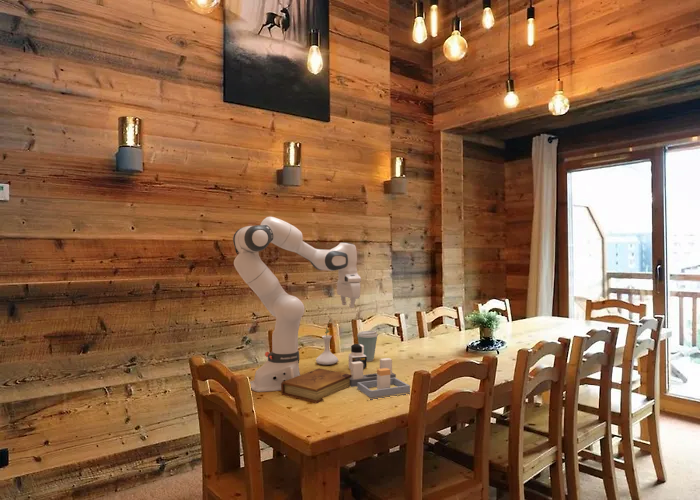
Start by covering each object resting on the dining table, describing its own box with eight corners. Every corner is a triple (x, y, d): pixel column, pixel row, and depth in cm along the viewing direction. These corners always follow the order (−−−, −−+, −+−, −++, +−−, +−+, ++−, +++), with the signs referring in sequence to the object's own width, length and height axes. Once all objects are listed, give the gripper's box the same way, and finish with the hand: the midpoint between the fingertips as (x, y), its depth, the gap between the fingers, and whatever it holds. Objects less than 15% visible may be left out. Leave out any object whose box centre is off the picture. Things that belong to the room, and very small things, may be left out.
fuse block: (351, 389, 203) (351, 381, 203) (345, 384, 209) (344, 376, 209) (397, 382, 212) (397, 374, 212) (390, 378, 218) (390, 370, 218)
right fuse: (382, 381, 211) (382, 360, 211) (379, 379, 214) (379, 358, 214) (392, 379, 213) (392, 359, 213) (388, 378, 216) (388, 357, 215)
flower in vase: (335, 367, 238) (335, 316, 238) (313, 365, 241) (312, 315, 240) (341, 360, 251) (341, 312, 250) (319, 359, 253) (319, 311, 253)
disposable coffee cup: (353, 361, 249) (353, 332, 249) (362, 356, 259) (362, 328, 258) (372, 363, 244) (372, 333, 244) (381, 358, 254) (381, 330, 253)
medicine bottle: (352, 372, 229) (352, 346, 229) (348, 368, 236) (348, 343, 236) (366, 370, 231) (366, 345, 231) (362, 367, 238) (362, 342, 238)
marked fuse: (380, 393, 196) (380, 370, 196) (377, 391, 199) (377, 369, 199) (390, 391, 198) (390, 369, 197) (386, 389, 200) (386, 367, 200)
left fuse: (353, 385, 206) (353, 363, 205) (350, 383, 208) (350, 362, 208) (363, 383, 207) (363, 362, 207) (360, 381, 210) (360, 361, 210)
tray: (370, 400, 189) (370, 391, 189) (357, 391, 201) (357, 382, 200) (409, 394, 196) (409, 385, 196) (394, 385, 208) (394, 377, 207)
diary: (317, 381, 216) (317, 368, 216) (351, 388, 205) (351, 374, 205) (281, 395, 197) (281, 380, 197) (316, 403, 186) (316, 388, 186)
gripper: (333, 275, 236) (333, 304, 237) (350, 278, 217) (350, 309, 218) (345, 275, 239) (345, 303, 239) (362, 278, 220) (363, 308, 220)
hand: (347, 306), depth 228 cm, fingers open, 8 cm apart
